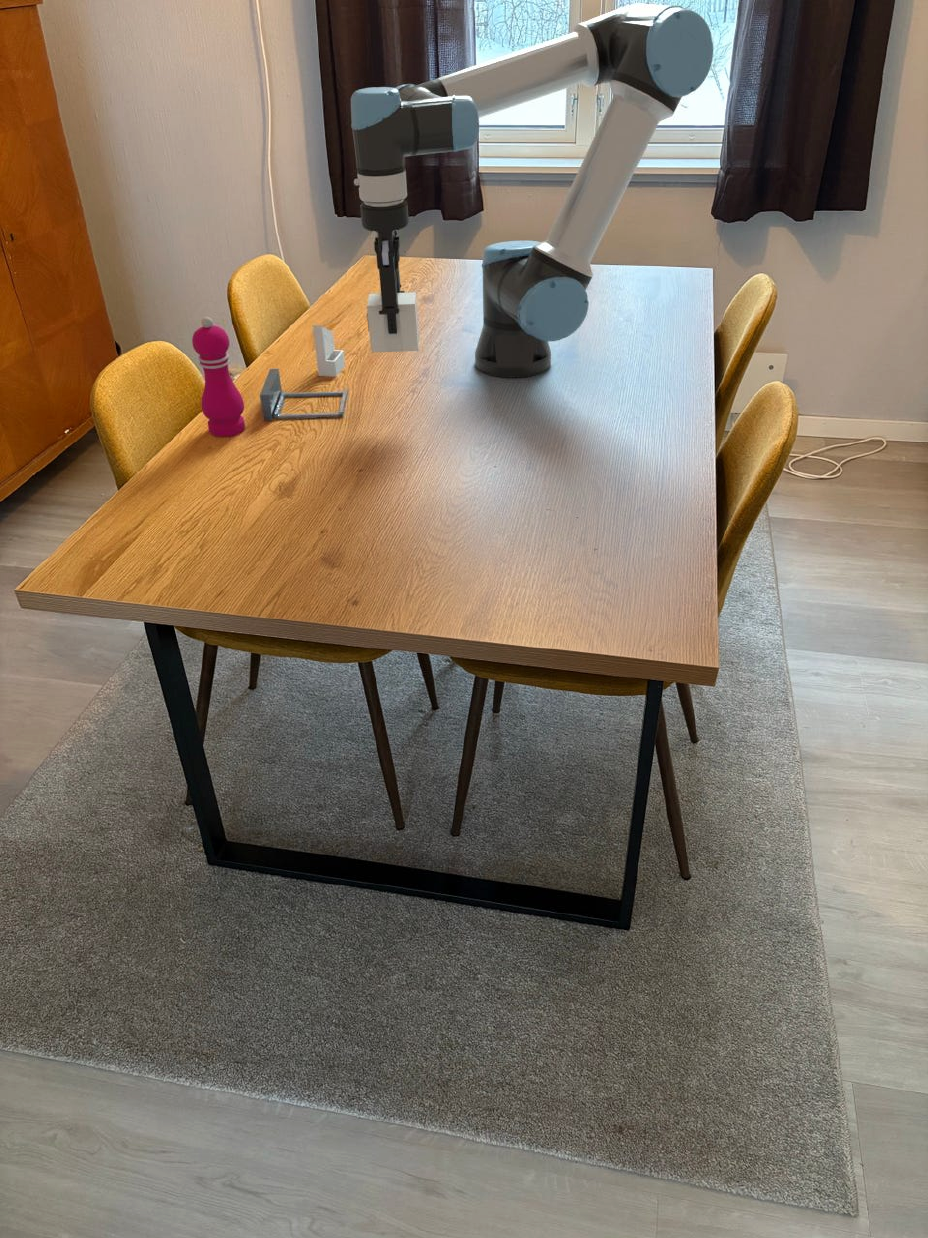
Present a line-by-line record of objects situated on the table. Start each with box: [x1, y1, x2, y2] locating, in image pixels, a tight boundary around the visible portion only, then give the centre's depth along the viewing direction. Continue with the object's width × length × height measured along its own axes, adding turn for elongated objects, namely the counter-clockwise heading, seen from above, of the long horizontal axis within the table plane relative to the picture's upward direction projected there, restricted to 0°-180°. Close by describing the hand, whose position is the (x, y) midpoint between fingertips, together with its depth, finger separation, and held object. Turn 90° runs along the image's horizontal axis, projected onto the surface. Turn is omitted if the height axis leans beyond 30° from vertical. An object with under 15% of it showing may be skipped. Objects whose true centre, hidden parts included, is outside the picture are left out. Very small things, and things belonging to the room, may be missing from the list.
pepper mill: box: [191, 316, 246, 438], centre depth 160 cm, size 7×7×20 cm
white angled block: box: [312, 325, 346, 378], centre depth 184 cm, size 4×10×9 cm, turn 169°
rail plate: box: [259, 368, 349, 422], centre depth 171 cm, size 14×12×5 cm
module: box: [366, 291, 420, 354], centre depth 160 cm, size 8×6×8 cm
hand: (395, 342), depth 162 cm, fingers closed on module, 6 cm apart
